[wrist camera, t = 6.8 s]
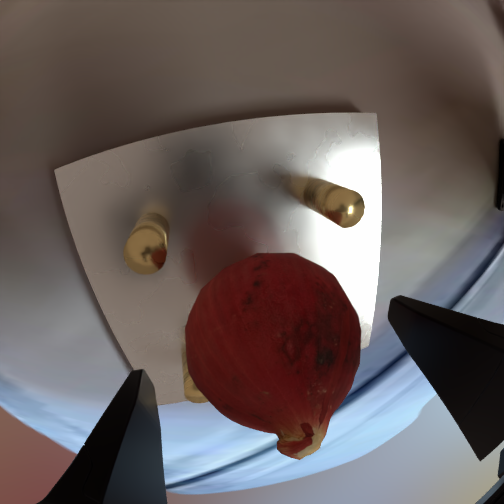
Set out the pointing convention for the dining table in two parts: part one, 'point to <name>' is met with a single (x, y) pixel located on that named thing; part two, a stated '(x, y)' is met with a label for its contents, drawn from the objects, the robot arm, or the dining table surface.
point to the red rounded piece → (275, 347)
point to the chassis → (221, 222)
